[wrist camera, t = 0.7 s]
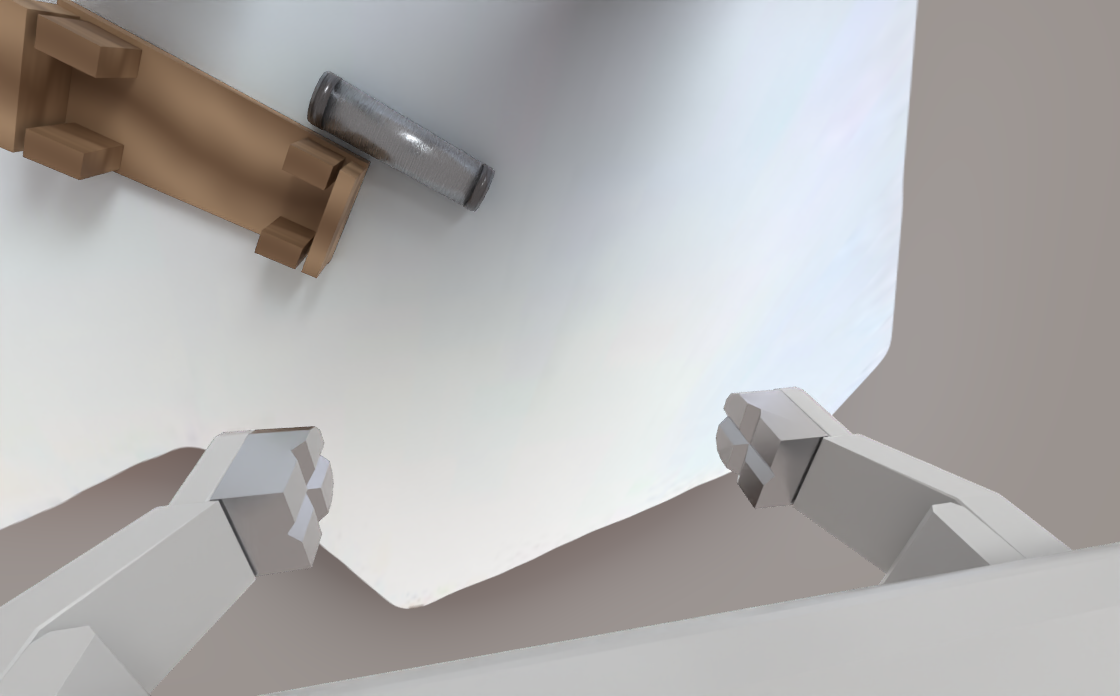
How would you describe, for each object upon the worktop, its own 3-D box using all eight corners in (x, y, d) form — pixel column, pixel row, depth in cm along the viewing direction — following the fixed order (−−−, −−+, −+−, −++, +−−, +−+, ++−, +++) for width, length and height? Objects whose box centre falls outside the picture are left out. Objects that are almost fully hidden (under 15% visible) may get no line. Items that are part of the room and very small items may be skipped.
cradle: (70, 0, 31) (0, -13, 26) (370, 161, 39) (357, 173, 34) (53, 138, 34) (-12, 148, 30) (331, 259, 43) (315, 282, 38)
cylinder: (334, 70, 35) (319, 70, 32) (493, 165, 41) (496, 174, 38) (317, 119, 37) (301, 125, 34) (473, 205, 43) (473, 217, 39)
